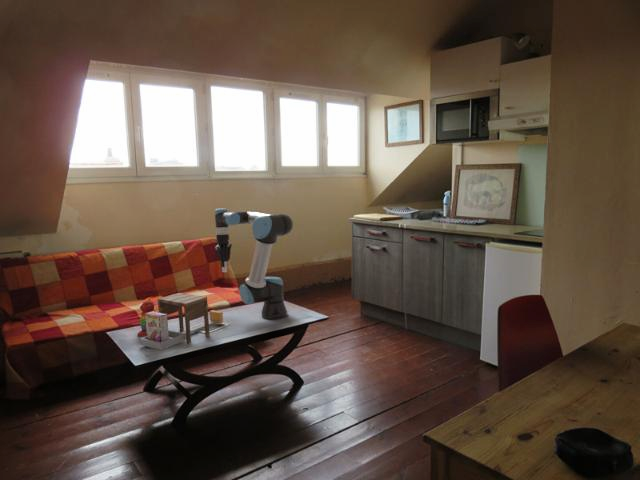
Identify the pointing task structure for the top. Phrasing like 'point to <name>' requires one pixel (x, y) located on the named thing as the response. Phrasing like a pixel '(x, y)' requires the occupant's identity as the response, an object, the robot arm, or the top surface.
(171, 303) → the small wooden table
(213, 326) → the pit mat
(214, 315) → the sled
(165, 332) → the candy bar box
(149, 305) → the stacking bear
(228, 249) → the robot arm
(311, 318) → the top surface
